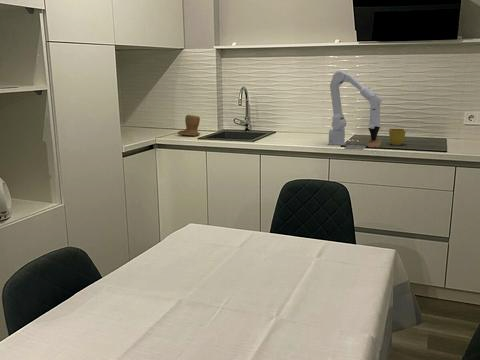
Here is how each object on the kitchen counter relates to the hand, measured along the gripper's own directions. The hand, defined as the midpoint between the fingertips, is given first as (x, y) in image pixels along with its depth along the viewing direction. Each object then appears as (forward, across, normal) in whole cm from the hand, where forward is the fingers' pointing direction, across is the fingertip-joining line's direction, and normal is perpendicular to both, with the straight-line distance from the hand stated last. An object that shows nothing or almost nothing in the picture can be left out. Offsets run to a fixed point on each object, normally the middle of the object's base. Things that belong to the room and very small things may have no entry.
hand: (373, 139), depth 286 cm
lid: (+1, 0, 0) cm, 1 cm away
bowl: (+4, 0, 0) cm, 4 cm away
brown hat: (+4, +6, +130) cm, 130 cm away
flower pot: (+4, +11, -12) cm, 17 cm away
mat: (+4, -8, +9) cm, 12 cm away
